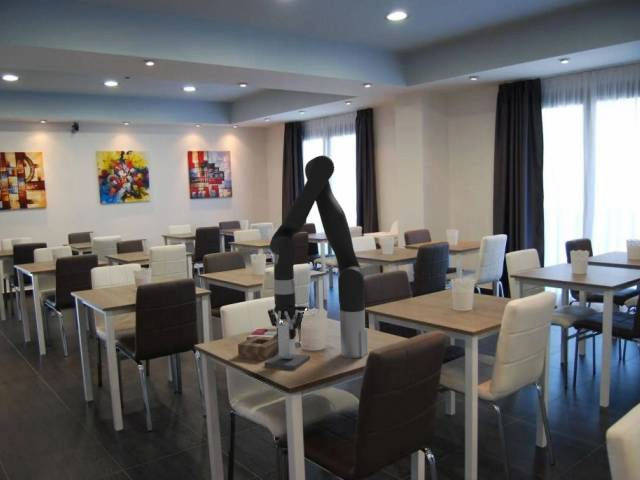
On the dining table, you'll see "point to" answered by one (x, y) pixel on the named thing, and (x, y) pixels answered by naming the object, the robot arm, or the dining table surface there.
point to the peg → (285, 341)
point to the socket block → (258, 348)
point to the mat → (287, 362)
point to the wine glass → (299, 308)
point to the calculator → (264, 333)
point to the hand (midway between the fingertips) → (286, 338)
